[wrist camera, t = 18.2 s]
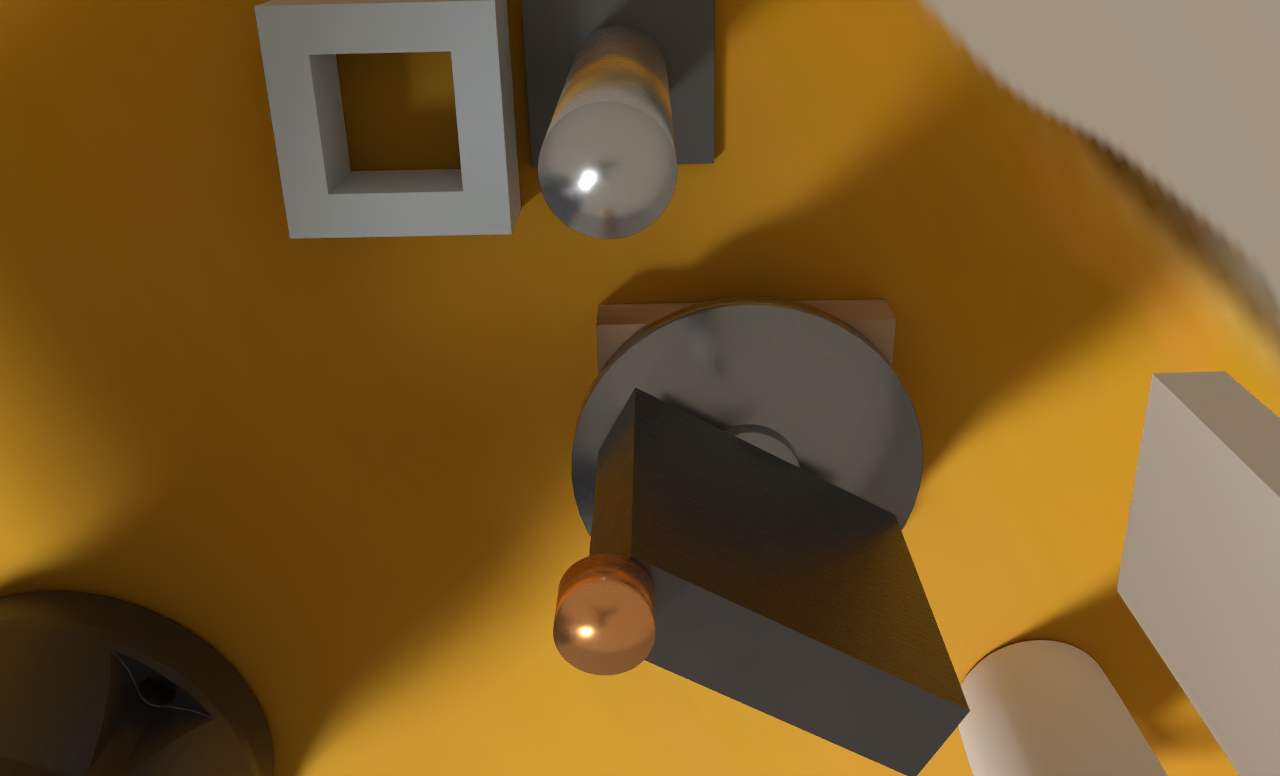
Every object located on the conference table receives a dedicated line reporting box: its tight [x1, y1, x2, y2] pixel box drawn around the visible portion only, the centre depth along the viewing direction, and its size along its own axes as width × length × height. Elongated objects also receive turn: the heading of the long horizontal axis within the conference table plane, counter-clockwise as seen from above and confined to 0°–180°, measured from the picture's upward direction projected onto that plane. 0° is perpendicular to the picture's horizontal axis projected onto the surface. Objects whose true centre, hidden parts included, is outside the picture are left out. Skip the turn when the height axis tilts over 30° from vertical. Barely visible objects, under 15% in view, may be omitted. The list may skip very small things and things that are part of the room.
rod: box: [538, 24, 677, 239], centre depth 31 cm, size 3×3×13 cm
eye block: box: [254, 0, 521, 239], centre depth 36 cm, size 7×7×3 cm
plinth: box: [596, 299, 896, 374], centre depth 41 cm, size 10×10×2 cm
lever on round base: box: [553, 296, 970, 776], centre depth 34 cm, size 12×12×13 cm
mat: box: [522, 0, 715, 167], centre depth 37 cm, size 6×6×1 cm
